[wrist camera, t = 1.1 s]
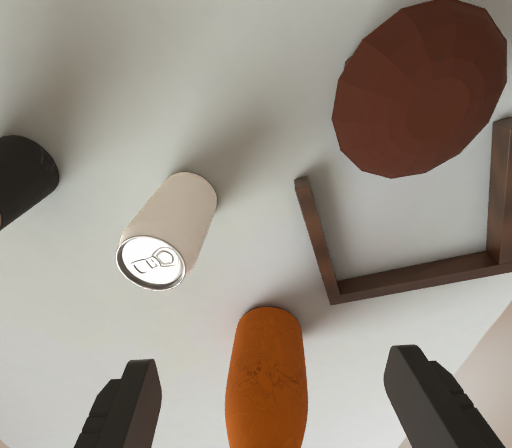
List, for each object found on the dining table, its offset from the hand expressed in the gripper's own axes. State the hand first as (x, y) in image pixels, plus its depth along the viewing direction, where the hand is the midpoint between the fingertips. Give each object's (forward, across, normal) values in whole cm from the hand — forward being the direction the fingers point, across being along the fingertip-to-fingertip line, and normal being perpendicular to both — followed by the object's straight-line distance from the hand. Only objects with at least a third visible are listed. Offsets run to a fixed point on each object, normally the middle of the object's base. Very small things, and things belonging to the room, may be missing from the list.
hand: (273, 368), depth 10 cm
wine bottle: (+26, -2, +24) cm, 36 cm away
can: (+25, +7, +3) cm, 26 cm away
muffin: (+22, -12, -8) cm, 26 cm away
